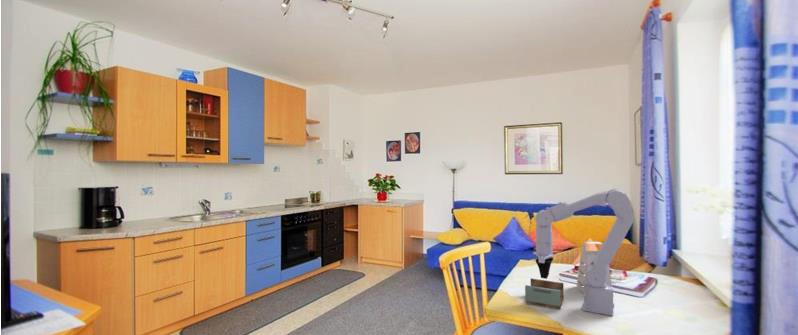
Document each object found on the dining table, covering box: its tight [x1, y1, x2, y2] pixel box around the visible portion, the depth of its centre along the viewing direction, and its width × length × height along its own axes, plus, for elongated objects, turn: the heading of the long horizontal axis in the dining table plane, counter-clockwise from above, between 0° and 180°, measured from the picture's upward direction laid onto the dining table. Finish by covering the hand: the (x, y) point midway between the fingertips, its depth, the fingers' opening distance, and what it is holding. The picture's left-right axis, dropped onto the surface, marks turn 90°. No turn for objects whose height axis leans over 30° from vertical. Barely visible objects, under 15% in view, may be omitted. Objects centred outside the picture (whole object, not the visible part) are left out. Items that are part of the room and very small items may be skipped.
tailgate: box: [524, 284, 560, 306], centre depth 133 cm, size 12×1×6 cm, turn 60°
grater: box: [576, 241, 613, 294], centre depth 149 cm, size 10×10×20 cm
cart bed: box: [525, 278, 565, 310], centre depth 139 cm, size 12×10×6 cm
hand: (544, 277), depth 138 cm, fingers closed
